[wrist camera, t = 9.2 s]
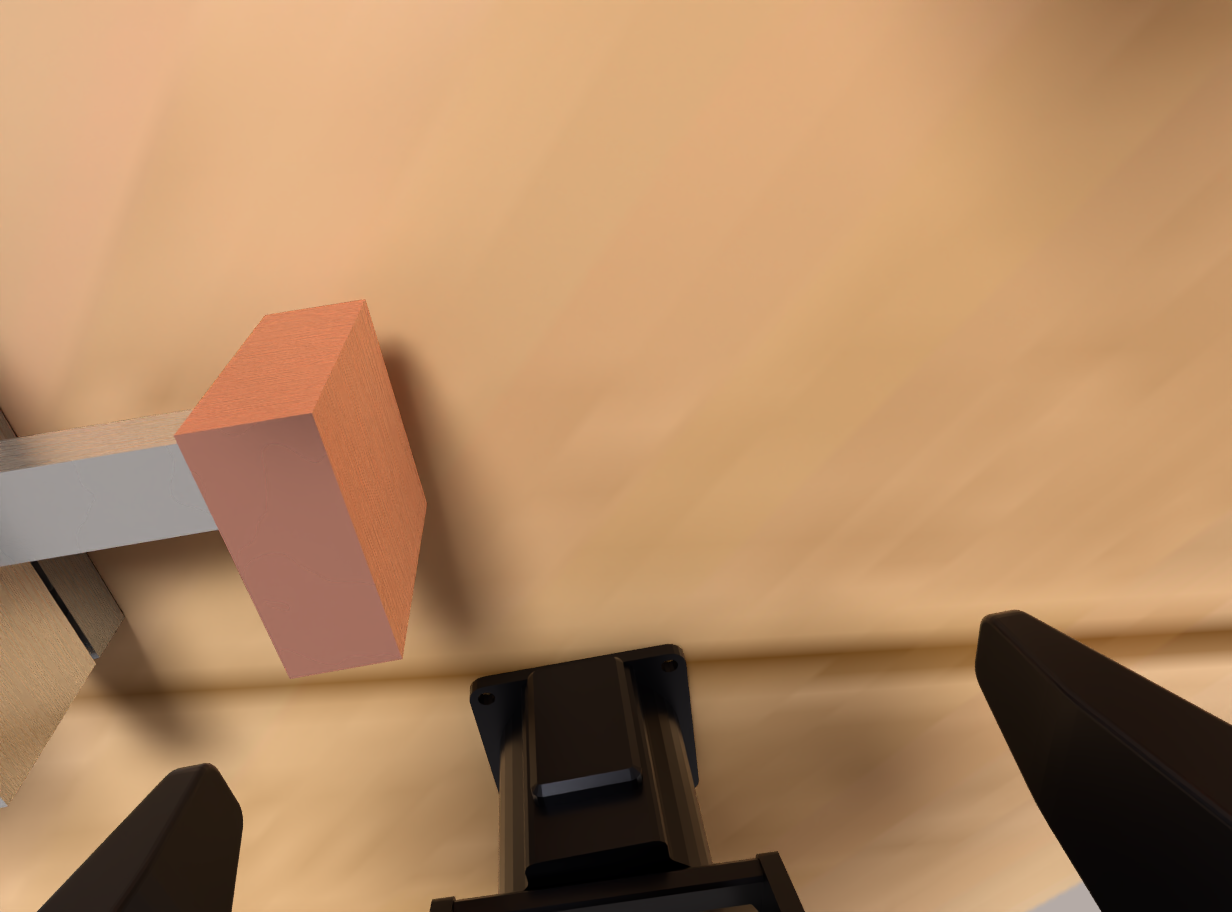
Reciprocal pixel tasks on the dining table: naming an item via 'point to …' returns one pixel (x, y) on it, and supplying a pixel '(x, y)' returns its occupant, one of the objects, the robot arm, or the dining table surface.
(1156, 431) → the dining table surface
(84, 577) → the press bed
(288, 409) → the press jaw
